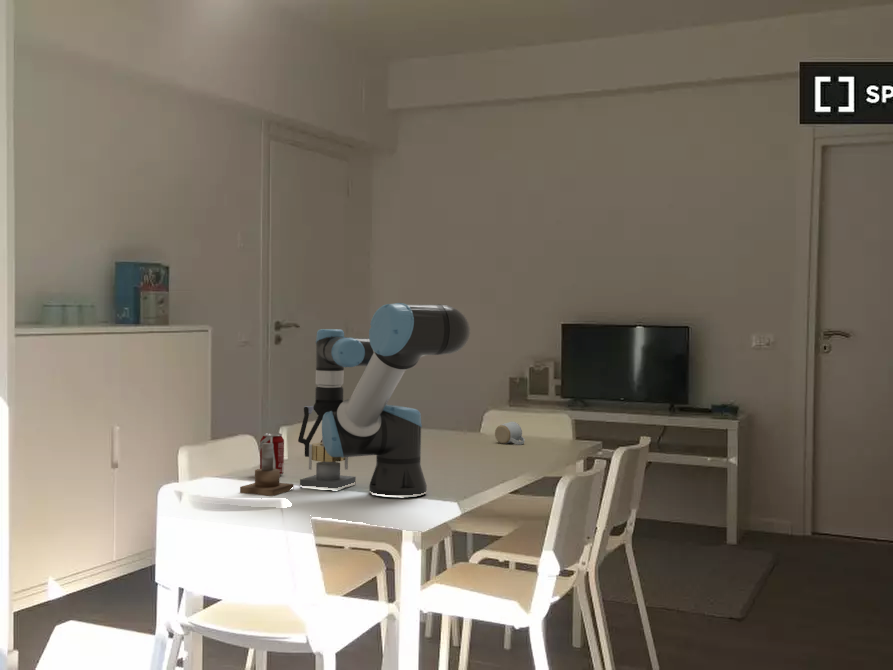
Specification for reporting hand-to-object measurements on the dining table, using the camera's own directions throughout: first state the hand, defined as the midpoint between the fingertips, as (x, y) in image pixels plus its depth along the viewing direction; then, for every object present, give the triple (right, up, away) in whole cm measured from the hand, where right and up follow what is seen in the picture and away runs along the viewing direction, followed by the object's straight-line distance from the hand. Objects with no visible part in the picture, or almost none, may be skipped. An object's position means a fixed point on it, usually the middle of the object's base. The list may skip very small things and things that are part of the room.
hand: (328, 468), depth 265 cm
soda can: (-18, -4, +16) cm, 25 cm away
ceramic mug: (+56, -4, +96) cm, 111 cm away
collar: (0, +3, 0) cm, 3 cm away
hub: (0, -5, 0) cm, 5 cm away
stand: (-15, -5, -8) cm, 18 cm away
